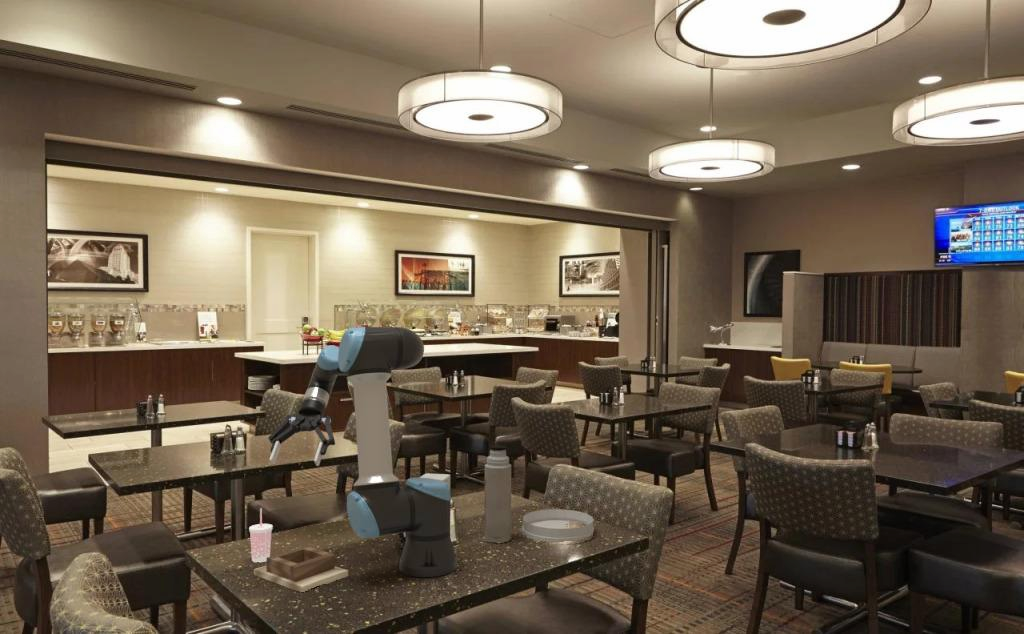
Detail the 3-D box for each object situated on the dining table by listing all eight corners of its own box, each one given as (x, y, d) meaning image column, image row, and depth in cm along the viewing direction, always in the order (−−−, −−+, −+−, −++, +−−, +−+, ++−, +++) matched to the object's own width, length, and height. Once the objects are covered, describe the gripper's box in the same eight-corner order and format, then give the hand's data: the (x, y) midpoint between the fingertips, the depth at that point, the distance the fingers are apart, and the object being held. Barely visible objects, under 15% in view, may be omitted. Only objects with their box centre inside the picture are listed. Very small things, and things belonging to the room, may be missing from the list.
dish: (508, 538, 213) (508, 521, 213) (543, 520, 232) (543, 505, 232) (574, 550, 202) (574, 533, 202) (605, 531, 220) (605, 515, 220)
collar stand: (348, 576, 180) (348, 556, 180) (302, 593, 169) (302, 572, 169) (299, 560, 192) (299, 542, 192) (253, 575, 181) (253, 555, 181)
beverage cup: (266, 554, 197) (266, 504, 197) (276, 559, 193) (276, 508, 193) (245, 559, 193) (245, 508, 193) (254, 565, 188) (255, 512, 188)
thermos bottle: (480, 542, 208) (481, 447, 208) (489, 534, 216) (489, 443, 216) (506, 545, 206) (506, 449, 206) (514, 537, 213) (514, 444, 213)
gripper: (355, 413, 223) (338, 471, 208) (279, 411, 226) (257, 468, 211) (349, 398, 218) (331, 456, 203) (272, 397, 220) (249, 454, 206)
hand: (294, 462), depth 207 cm, fingers open, 13 cm apart
